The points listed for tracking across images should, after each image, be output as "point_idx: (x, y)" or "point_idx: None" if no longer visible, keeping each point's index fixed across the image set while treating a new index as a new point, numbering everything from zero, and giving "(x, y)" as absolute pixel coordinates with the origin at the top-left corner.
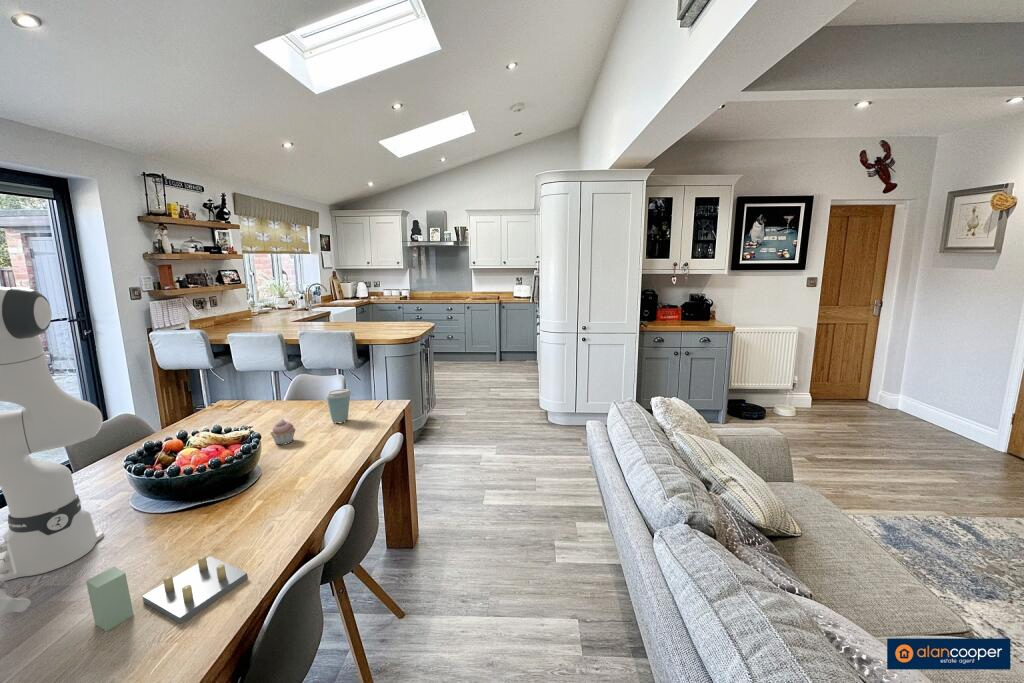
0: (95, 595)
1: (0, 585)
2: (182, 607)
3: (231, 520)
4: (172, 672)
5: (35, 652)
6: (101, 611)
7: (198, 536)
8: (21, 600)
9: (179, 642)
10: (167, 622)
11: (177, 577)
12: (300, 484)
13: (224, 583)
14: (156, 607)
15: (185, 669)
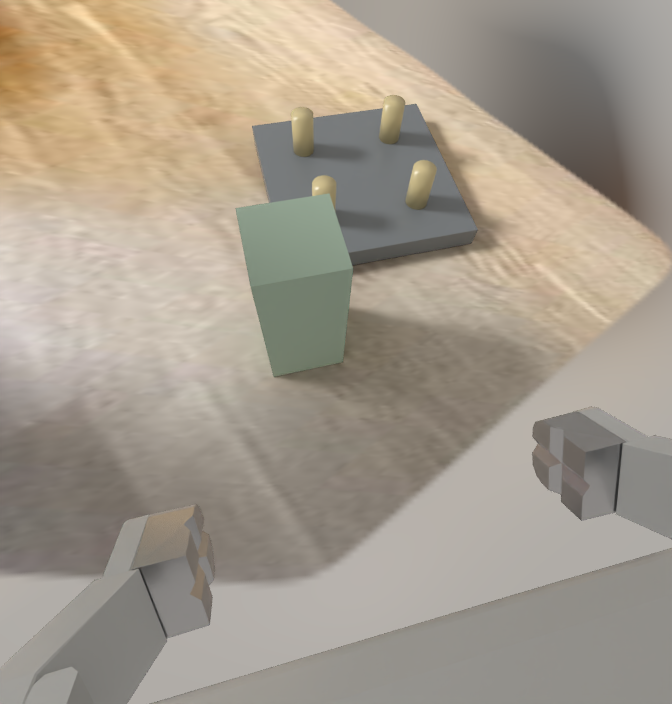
0: (319, 302)
1: (194, 545)
2: (436, 216)
3: (94, 65)
4: (638, 293)
5: (264, 515)
6: (342, 328)
7: (85, 127)
8: (634, 436)
9: (540, 261)
10: (436, 260)
11: (278, 193)
12: None
13: (417, 140)
14: (358, 258)
15: (647, 274)
